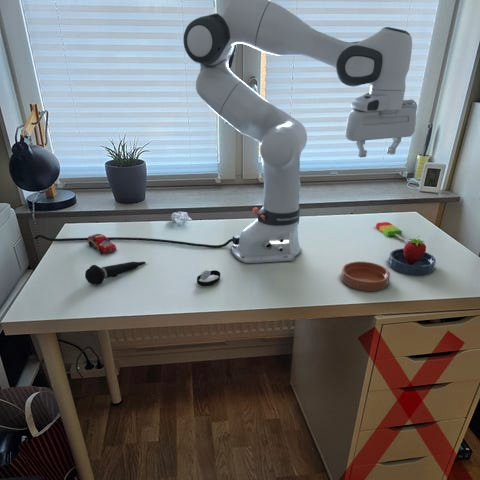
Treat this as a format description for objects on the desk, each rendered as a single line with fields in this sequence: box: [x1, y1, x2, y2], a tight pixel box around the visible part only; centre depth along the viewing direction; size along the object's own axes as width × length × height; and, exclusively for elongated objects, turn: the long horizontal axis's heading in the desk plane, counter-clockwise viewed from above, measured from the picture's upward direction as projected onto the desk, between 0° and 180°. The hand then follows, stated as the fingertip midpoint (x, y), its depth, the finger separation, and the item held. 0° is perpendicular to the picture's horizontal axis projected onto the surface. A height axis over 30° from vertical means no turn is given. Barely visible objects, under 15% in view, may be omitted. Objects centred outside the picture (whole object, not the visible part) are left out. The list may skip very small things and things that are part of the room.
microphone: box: [84, 261, 146, 286], centre depth 129 cm, size 6×6×20 cm
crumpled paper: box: [170, 211, 193, 226], centre depth 166 cm, size 8×4×7 cm
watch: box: [196, 269, 221, 287], centre depth 126 cm, size 8×5×4 cm, turn 131°
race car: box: [87, 233, 117, 256], centre depth 145 cm, size 13×5×4 cm, turn 39°
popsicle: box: [375, 221, 405, 241], centre depth 158 cm, size 6×15×2 cm, turn 15°
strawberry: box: [403, 236, 427, 265], centre depth 134 cm, size 6×8×10 cm
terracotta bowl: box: [340, 261, 391, 292], centre depth 127 cm, size 13×13×3 cm
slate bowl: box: [388, 247, 437, 276], centre depth 136 cm, size 13×13×3 cm
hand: (376, 155), depth 124 cm, fingers open, 8 cm apart
